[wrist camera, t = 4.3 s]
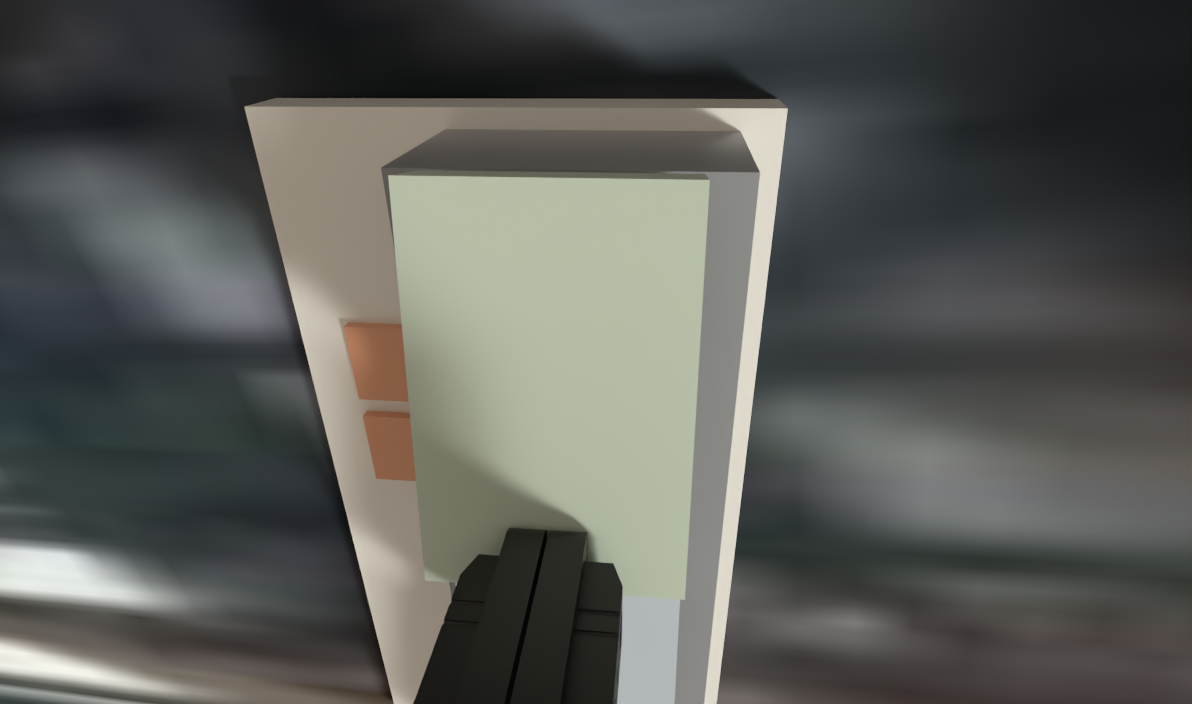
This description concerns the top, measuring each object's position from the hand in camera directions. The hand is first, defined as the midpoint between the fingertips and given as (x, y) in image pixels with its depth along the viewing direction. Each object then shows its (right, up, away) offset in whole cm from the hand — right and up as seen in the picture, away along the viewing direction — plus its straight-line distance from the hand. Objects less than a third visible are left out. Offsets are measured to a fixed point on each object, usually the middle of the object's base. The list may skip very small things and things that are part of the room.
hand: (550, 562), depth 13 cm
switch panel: (-1, -1, +10) cm, 10 cm away
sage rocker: (0, +4, +1) cm, 4 cm away
